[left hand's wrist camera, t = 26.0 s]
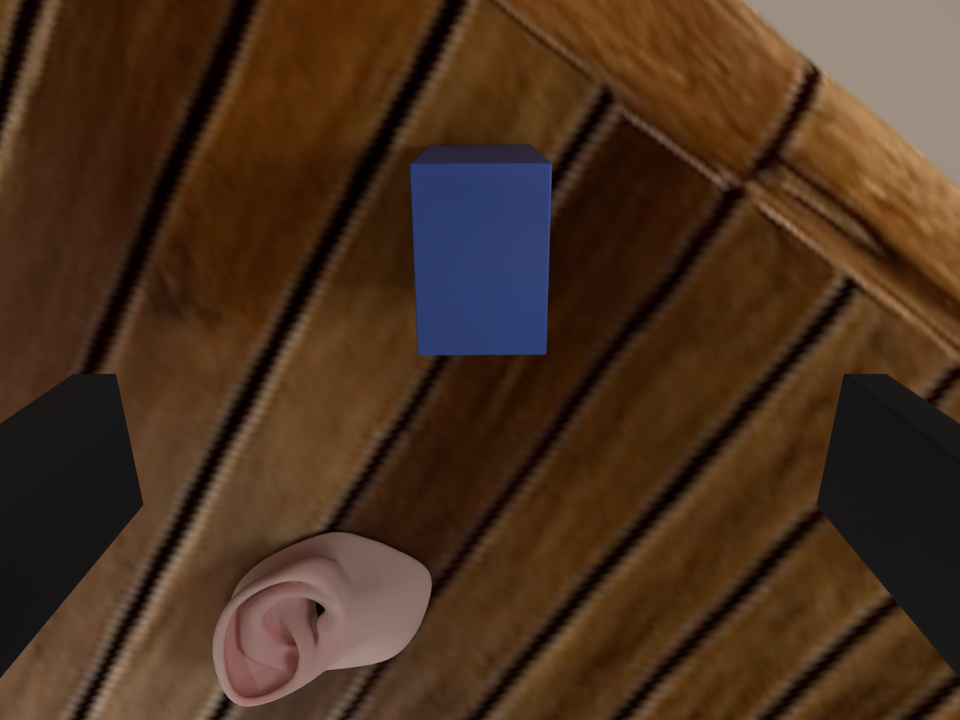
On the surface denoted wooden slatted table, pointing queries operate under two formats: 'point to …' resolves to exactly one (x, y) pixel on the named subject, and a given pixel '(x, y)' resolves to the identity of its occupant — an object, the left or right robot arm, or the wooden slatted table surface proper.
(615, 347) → the wooden slatted table surface
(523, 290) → the brick
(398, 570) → the anatomical model
